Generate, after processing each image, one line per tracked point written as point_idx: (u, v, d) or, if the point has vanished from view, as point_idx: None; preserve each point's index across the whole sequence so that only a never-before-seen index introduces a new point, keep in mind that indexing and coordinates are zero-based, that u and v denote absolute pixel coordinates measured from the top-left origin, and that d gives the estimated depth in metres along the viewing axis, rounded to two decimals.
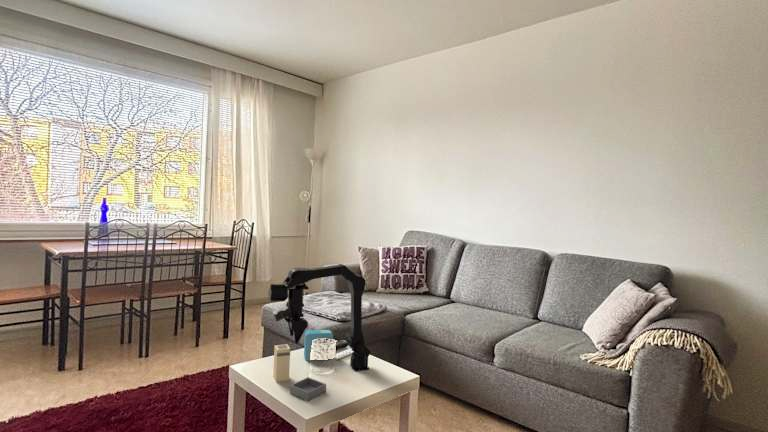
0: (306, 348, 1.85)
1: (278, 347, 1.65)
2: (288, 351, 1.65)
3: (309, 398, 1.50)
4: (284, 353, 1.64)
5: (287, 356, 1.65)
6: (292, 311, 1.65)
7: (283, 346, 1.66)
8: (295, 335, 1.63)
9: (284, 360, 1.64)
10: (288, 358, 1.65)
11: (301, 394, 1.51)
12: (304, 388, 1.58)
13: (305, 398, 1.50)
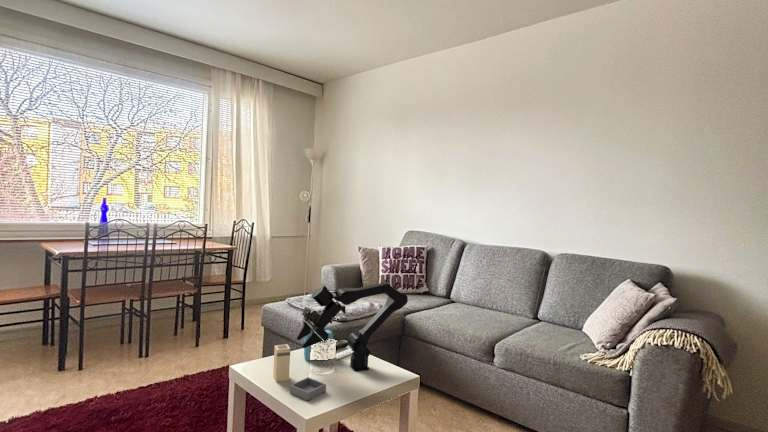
0: (306, 348, 1.85)
1: (278, 347, 1.65)
2: (288, 351, 1.65)
3: (309, 398, 1.50)
4: (285, 353, 1.64)
5: (287, 356, 1.65)
6: (320, 319, 1.70)
7: (283, 346, 1.66)
8: (309, 340, 1.65)
9: (284, 360, 1.64)
10: (288, 358, 1.65)
11: (301, 394, 1.51)
12: (304, 388, 1.58)
13: (305, 398, 1.50)
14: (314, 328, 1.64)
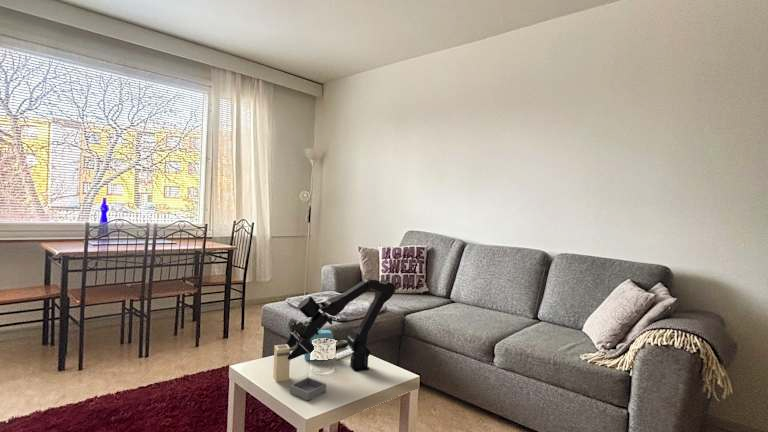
0: None
1: (278, 347, 1.65)
2: (288, 351, 1.65)
3: (309, 398, 1.50)
4: (284, 353, 1.64)
5: (287, 356, 1.65)
6: (306, 331, 1.67)
7: (283, 346, 1.66)
8: (294, 352, 1.62)
9: (284, 360, 1.64)
10: None
11: (301, 394, 1.51)
12: (304, 388, 1.58)
13: (305, 398, 1.50)
14: (299, 340, 1.62)
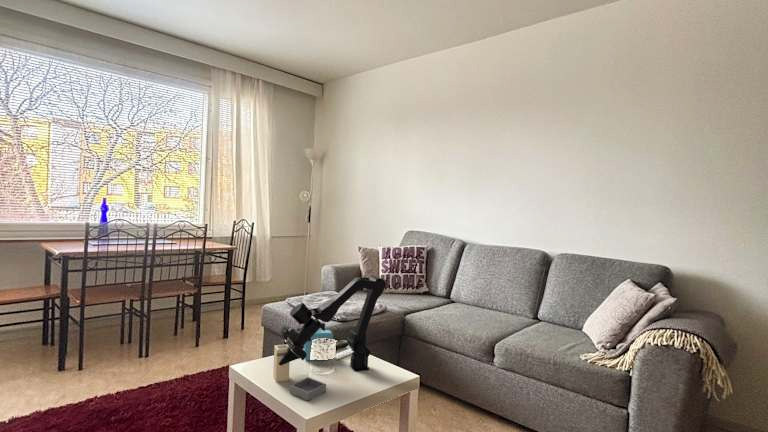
0: (306, 348, 1.85)
1: (278, 347, 1.65)
2: None
3: (309, 398, 1.50)
4: (284, 353, 1.64)
5: None
6: (299, 338, 1.66)
7: (283, 346, 1.66)
8: (285, 357, 1.63)
9: None
10: None
11: (301, 394, 1.51)
12: (304, 388, 1.58)
13: (305, 398, 1.50)
14: (292, 347, 1.61)
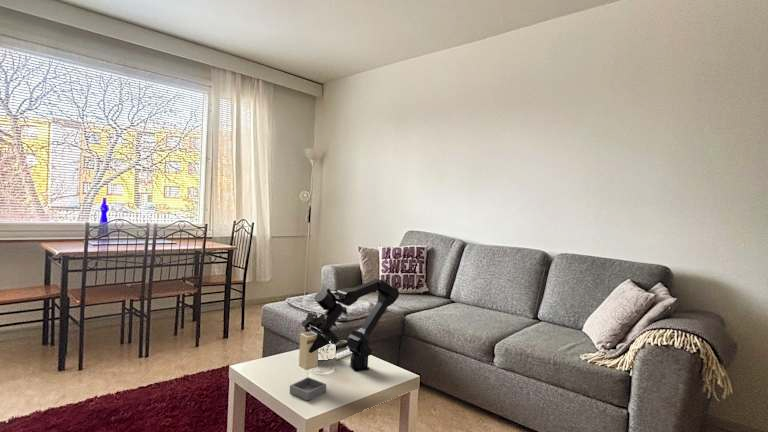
0: None
1: (306, 335, 1.61)
2: (316, 338, 1.62)
3: (309, 398, 1.50)
4: (313, 340, 1.61)
5: None
6: (326, 323, 1.64)
7: (310, 333, 1.63)
8: (315, 344, 1.60)
9: None
10: None
11: (301, 394, 1.51)
12: (304, 388, 1.58)
13: (305, 398, 1.50)
14: (324, 333, 1.58)
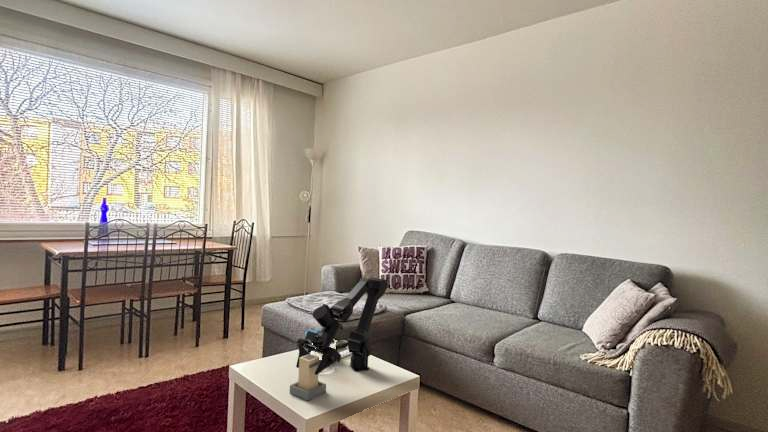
0: None
1: (306, 358, 1.54)
2: (317, 360, 1.55)
3: (309, 398, 1.50)
4: (315, 363, 1.54)
5: (316, 366, 1.55)
6: (325, 341, 1.58)
7: (310, 356, 1.56)
8: (322, 365, 1.52)
9: (315, 370, 1.54)
10: None
11: (301, 394, 1.51)
12: None
13: (305, 398, 1.50)
14: (328, 351, 1.53)
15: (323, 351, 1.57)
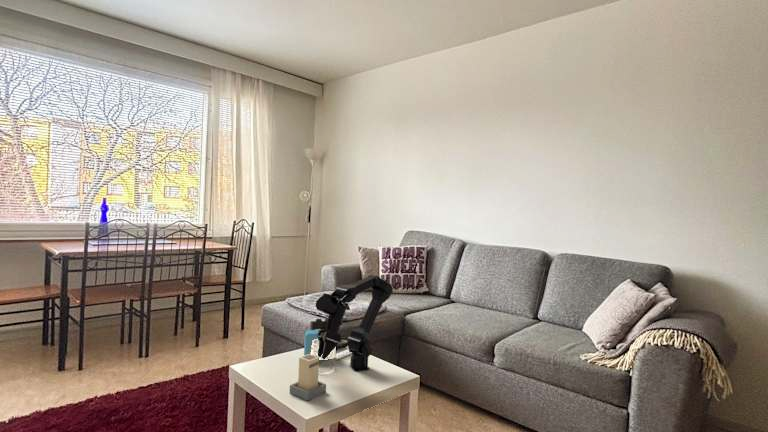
0: (306, 348, 1.85)
1: (306, 358, 1.54)
2: (317, 360, 1.55)
3: (309, 398, 1.50)
4: (315, 363, 1.54)
5: (316, 366, 1.55)
6: (329, 325, 1.63)
7: (310, 356, 1.56)
8: (325, 348, 1.58)
9: (315, 370, 1.54)
10: (317, 368, 1.56)
11: (301, 394, 1.51)
12: None
13: (305, 398, 1.50)
14: (324, 335, 1.58)
15: None
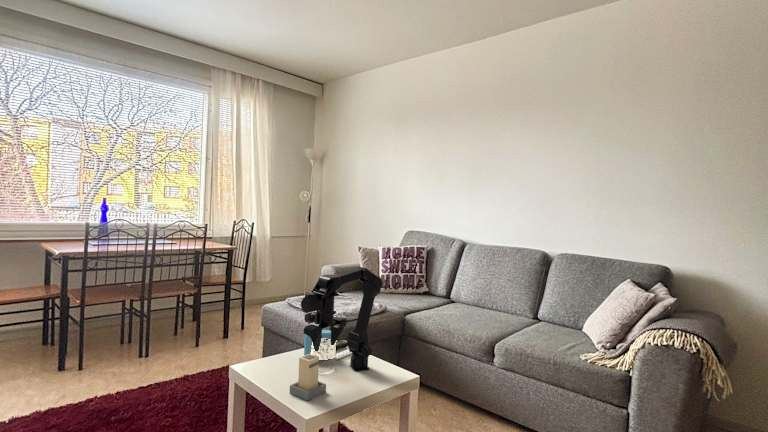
0: (306, 348, 1.85)
1: (306, 358, 1.54)
2: (317, 360, 1.55)
3: (309, 398, 1.50)
4: (315, 363, 1.54)
5: (316, 366, 1.55)
6: (318, 318, 1.64)
7: (310, 356, 1.56)
8: (313, 342, 1.61)
9: (315, 370, 1.54)
10: (317, 368, 1.56)
11: (301, 394, 1.51)
12: None
13: (305, 398, 1.50)
14: None
15: None
